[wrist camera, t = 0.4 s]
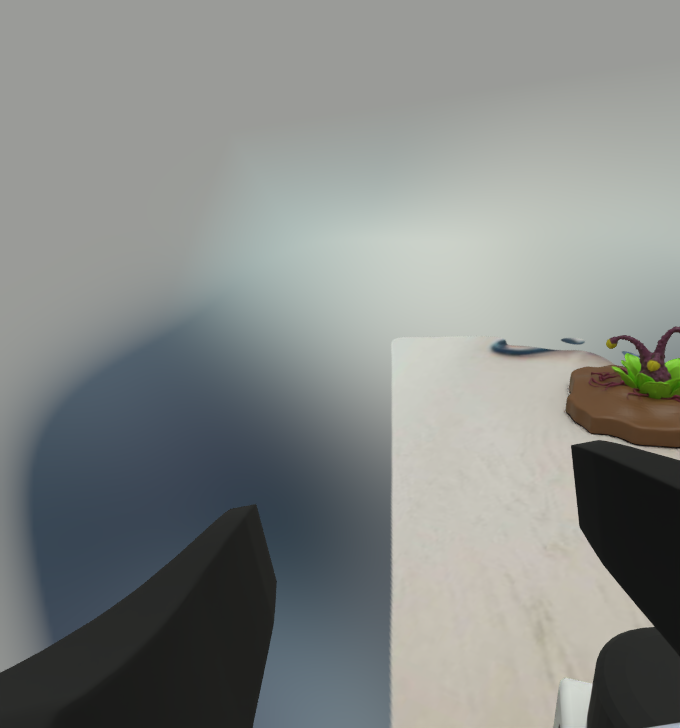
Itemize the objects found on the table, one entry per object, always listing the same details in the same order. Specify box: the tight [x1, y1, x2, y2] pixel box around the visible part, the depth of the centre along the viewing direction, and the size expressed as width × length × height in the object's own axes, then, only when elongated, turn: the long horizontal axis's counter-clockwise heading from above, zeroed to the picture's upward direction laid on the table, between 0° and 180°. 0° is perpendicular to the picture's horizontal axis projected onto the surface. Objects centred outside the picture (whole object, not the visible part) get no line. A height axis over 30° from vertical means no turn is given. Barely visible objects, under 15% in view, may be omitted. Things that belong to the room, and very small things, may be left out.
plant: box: [566, 327, 680, 447], centre depth 62 cm, size 20×20×11 cm
